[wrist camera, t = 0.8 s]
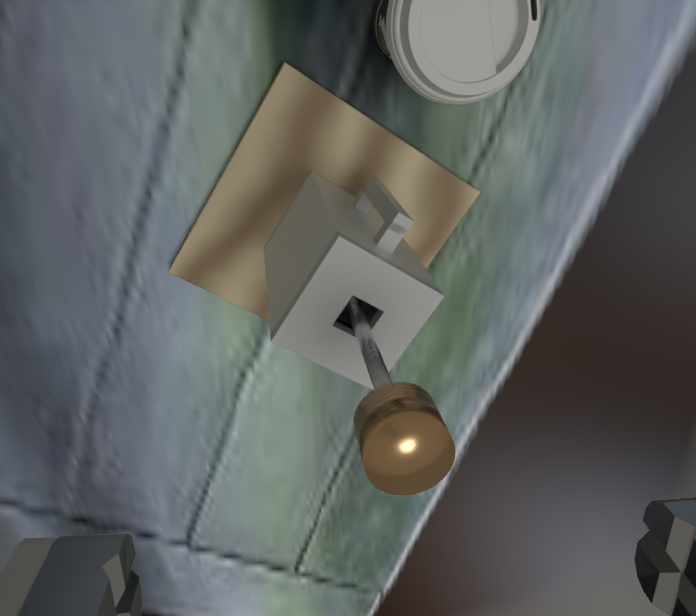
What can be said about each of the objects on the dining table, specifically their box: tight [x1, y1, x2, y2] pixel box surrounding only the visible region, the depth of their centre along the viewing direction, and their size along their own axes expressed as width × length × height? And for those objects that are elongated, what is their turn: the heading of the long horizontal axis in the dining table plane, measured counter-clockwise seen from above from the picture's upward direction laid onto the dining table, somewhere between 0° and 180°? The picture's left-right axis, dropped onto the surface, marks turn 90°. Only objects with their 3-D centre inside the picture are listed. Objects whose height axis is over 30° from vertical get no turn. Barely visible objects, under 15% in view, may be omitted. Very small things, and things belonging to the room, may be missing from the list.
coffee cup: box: [371, 0, 541, 105], centre depth 41 cm, size 10×10×15 cm
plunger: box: [338, 295, 455, 495], centre depth 35 cm, size 6×6×20 cm
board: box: [169, 62, 480, 321], centre depth 54 cm, size 20×20×2 cm
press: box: [264, 170, 444, 390], centre depth 45 cm, size 8×11×17 cm
